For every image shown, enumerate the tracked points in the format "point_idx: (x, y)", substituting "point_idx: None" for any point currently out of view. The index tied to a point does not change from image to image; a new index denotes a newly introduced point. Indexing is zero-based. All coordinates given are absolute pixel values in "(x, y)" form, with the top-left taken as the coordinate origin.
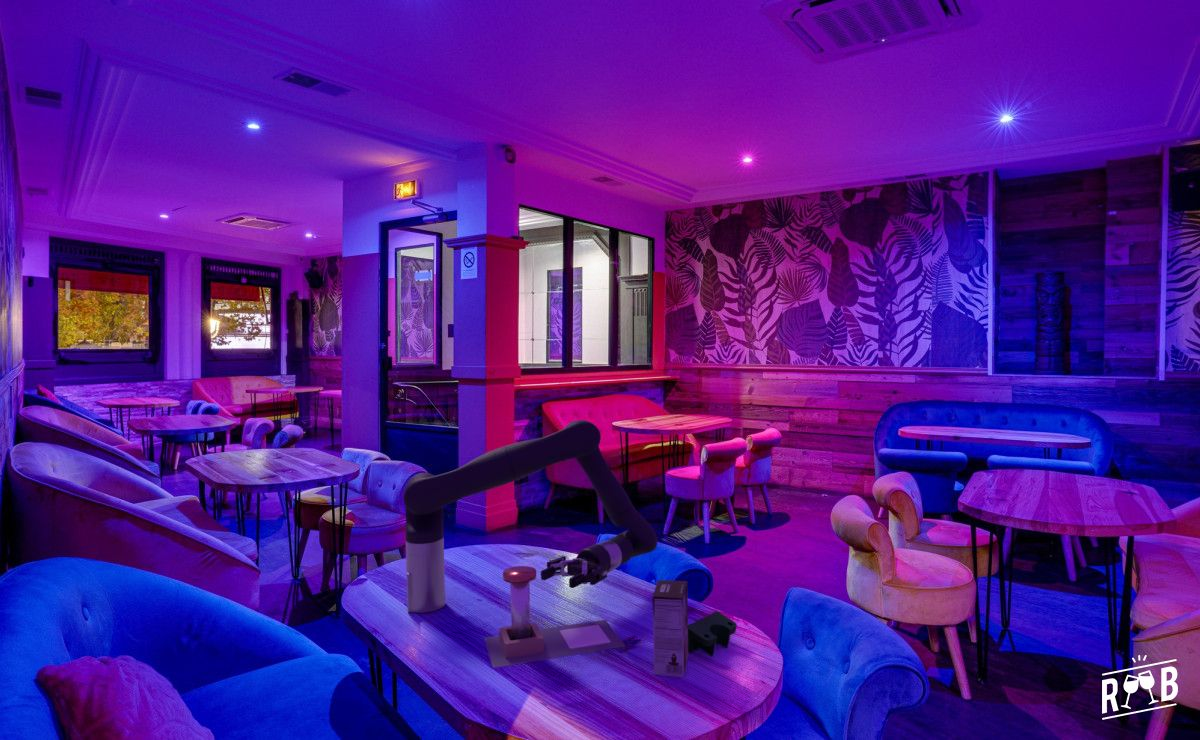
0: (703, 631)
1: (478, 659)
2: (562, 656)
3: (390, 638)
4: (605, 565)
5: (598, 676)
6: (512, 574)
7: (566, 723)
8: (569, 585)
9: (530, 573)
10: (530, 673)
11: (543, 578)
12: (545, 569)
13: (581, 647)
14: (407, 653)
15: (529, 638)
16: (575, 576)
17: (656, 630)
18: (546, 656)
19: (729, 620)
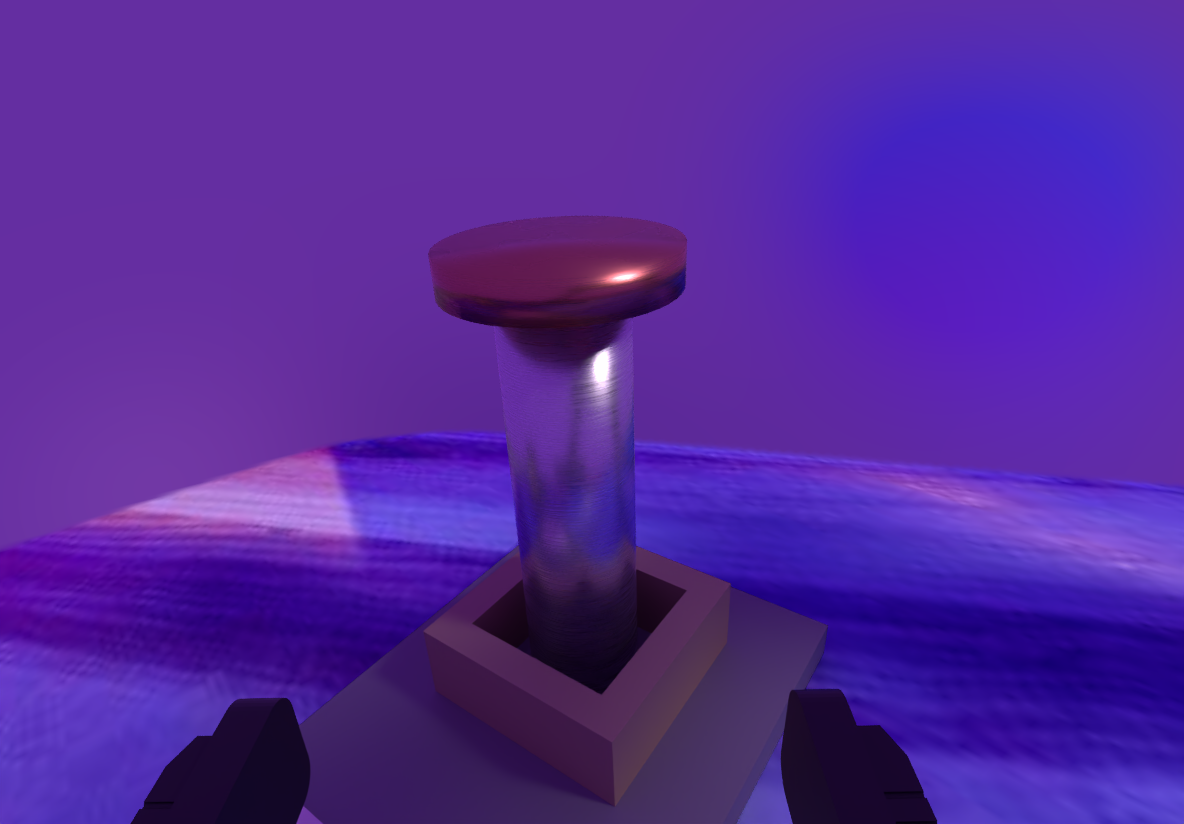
0: None
1: (705, 571)
2: (312, 716)
3: (1129, 496)
4: None
5: (76, 757)
6: (562, 225)
7: (172, 510)
8: (303, 753)
9: (460, 251)
10: (431, 611)
11: (783, 753)
12: (851, 756)
13: None
14: (940, 480)
15: (495, 593)
16: (199, 786)
17: None
18: (399, 671)
19: None
